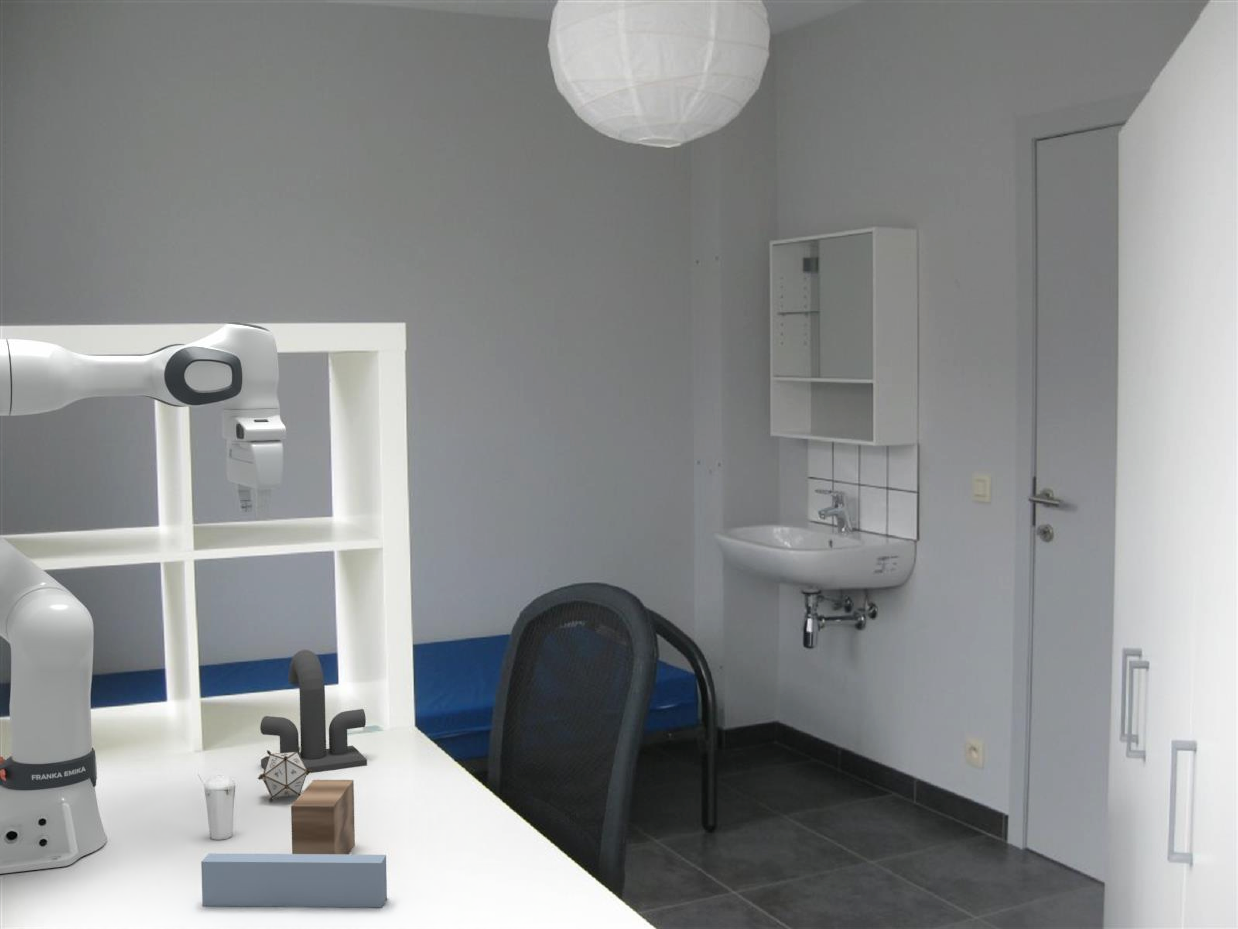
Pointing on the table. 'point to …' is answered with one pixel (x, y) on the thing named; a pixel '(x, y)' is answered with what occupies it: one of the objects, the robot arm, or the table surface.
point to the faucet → (315, 722)
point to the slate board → (294, 880)
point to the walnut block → (324, 818)
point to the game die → (284, 774)
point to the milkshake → (220, 806)
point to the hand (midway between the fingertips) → (253, 514)
